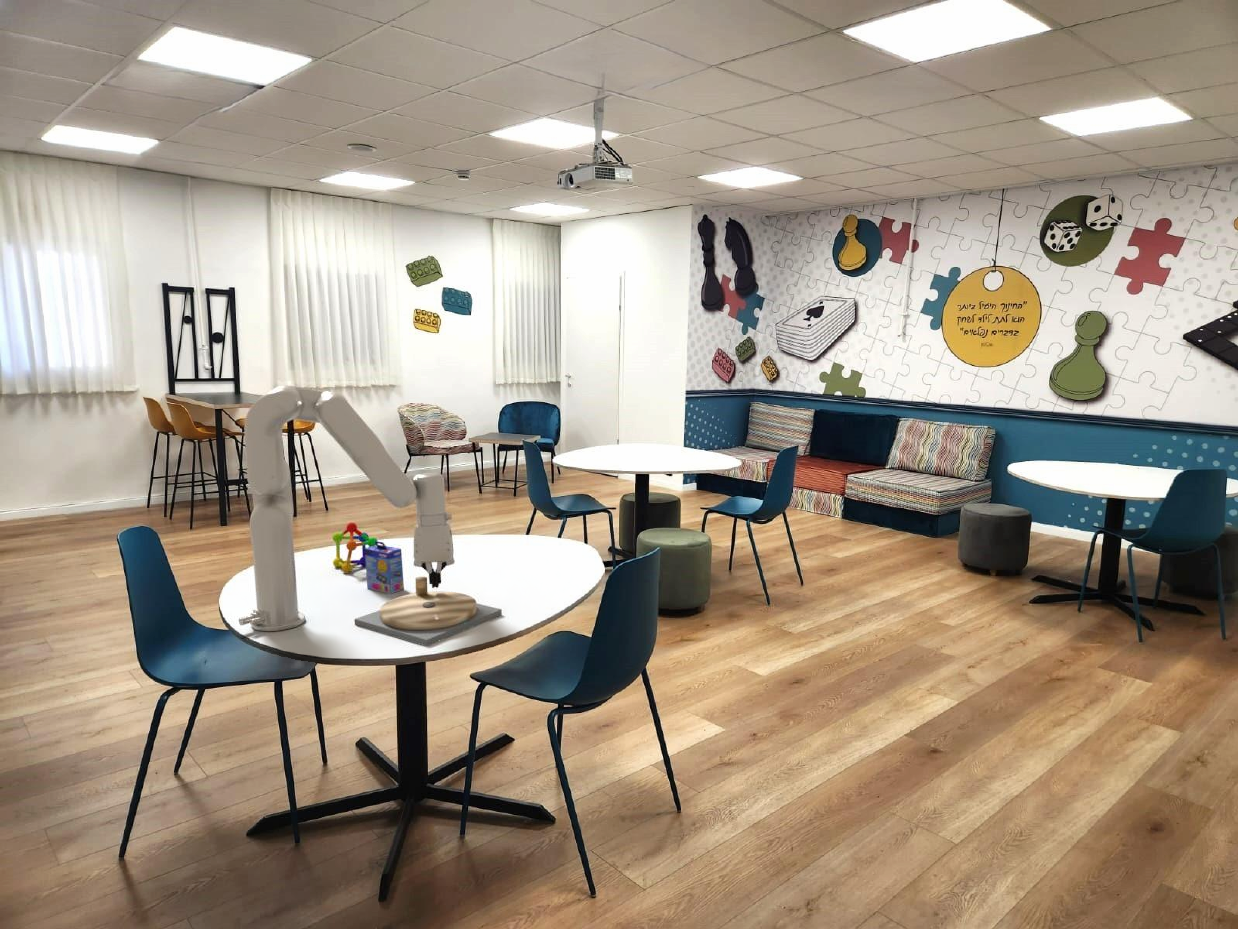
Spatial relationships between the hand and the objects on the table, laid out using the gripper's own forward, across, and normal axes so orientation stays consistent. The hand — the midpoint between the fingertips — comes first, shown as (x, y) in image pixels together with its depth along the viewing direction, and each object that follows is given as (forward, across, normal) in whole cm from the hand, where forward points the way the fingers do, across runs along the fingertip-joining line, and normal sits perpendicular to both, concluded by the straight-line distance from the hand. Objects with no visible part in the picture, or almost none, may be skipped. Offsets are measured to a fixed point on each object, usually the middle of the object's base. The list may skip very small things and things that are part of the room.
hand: (435, 586), depth 218 cm
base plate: (+6, +1, +10) cm, 12 cm away
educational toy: (+6, +29, -42) cm, 52 cm away
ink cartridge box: (+6, +16, -18) cm, 24 cm away
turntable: (+4, +1, +10) cm, 11 cm away
